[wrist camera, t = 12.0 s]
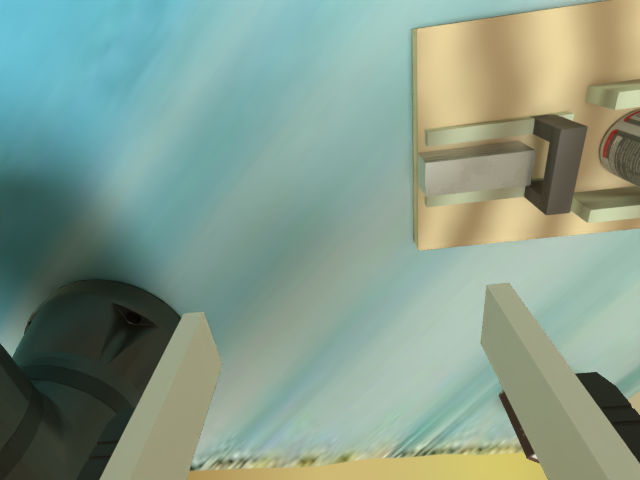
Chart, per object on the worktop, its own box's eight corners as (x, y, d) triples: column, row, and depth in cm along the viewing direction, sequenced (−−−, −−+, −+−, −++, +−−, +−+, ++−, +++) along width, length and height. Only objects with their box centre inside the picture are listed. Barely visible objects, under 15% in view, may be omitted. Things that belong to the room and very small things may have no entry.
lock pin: (418, 184, 28) (425, 196, 26) (417, 152, 27) (425, 163, 25) (515, 173, 27) (530, 185, 25) (518, 140, 26) (535, 150, 24)
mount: (414, 241, 32) (429, 278, 27) (412, 29, 25) (432, 28, 20) (688, 212, 30) (757, 247, 26) (778, -25, 23) (901, -41, 18)
